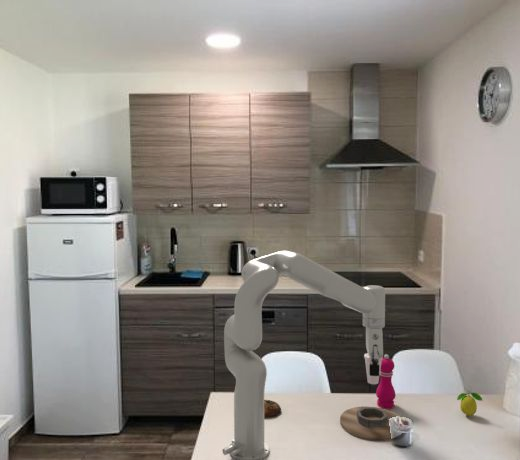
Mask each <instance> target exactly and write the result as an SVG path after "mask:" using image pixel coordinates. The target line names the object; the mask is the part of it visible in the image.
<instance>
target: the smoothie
mask: <svg viewBox="0 0 520 460" xmlns="http://www.w3.org/2000/svg"><path fill="white" fill-rule="evenodd" d="M372 355H374V354H372ZM383 358H384V355H383V356H382V357H381V356H380V355H379V376H370V364H371V363H370V356H369V355H368V352H367V353H364V355H363V359H364V361H365V369H366V370H365V371H366V378H367V383H368V384H370V385H377V384H378V385H379V383H380V382H379V381H380V377H381V375H380V369H381V362H382V359H383ZM373 359H374V357H372V360H373Z"/></svg>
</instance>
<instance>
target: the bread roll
mask: <svg viewBox="0 0 520 460" xmlns="http://www.w3.org/2000/svg"><path fill="white" fill-rule="evenodd" d="M281 412H282V407H281V406H280V405H279V404H278V402H276V401H273V400H270V399H264V418H274V417H277V416H279V415H281Z"/></svg>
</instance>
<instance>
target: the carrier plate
mask: <svg viewBox="0 0 520 460" xmlns="http://www.w3.org/2000/svg"><path fill="white" fill-rule="evenodd" d="M396 416H399V415H398V414H397V413H395V412H394V411H391V410H389V409H385V408H381V407H375V406H356V407H352V408H349V409H346V410H344V411H343V412H342V413H341V414H340V419H339V421H340V422H339V423H340V426H341V428H342V429H343V430H344V431H345V432H346V433H348V434H350V435H352V436H353V437H357V438H360V439H363V440H369V441H389V440H390V441H391V440H392V439H391V433H390V426H389V419H390V418H392V417H396Z"/></svg>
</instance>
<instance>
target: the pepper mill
mask: <svg viewBox="0 0 520 460" xmlns="http://www.w3.org/2000/svg"><path fill="white" fill-rule="evenodd" d="M394 369H395V362H394V361H393V360H392V359H391V358H390V356H389V354H387V353H386V354H383V359H382V362H381V369H380V380H379V381H380V382H379V383H378V386H377V388H376V392H375V395H376V397H377V401H376V404H377V406H378V408H382V409H385V410H389V409H393V408H394V407H395V401H394V400H395V399H396V390H395V388H394V386H393V383H392V378H393V375H394V374H393V373H394V371H393V370H394Z"/></svg>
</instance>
